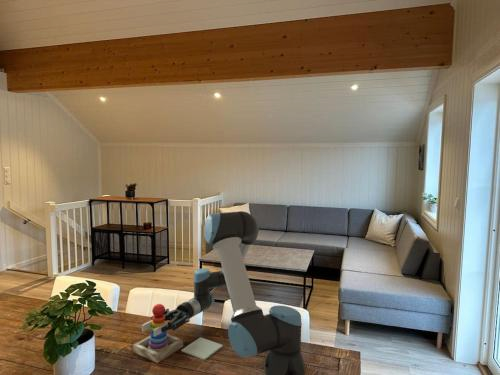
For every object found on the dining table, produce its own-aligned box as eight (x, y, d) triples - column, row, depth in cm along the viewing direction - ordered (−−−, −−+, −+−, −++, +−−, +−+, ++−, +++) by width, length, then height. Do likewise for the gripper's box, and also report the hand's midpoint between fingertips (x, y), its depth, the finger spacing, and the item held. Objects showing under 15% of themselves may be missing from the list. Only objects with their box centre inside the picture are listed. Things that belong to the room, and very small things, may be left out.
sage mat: (222, 346, 143) (222, 345, 143) (204, 360, 133) (204, 358, 133) (200, 338, 150) (200, 337, 150) (181, 351, 140) (181, 349, 139)
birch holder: (182, 346, 143) (182, 339, 143) (157, 362, 131) (157, 355, 131) (159, 337, 150) (158, 330, 150) (132, 352, 139) (132, 344, 138)
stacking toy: (163, 355, 136) (162, 309, 135) (144, 353, 138) (143, 307, 136) (171, 345, 144) (171, 301, 143) (153, 343, 146) (153, 300, 144)
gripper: (204, 323, 151) (165, 346, 131) (172, 312, 161) (132, 333, 141) (204, 306, 150) (165, 327, 131) (172, 297, 160) (132, 315, 140)
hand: (148, 330), depth 136 cm, fingers closed on stacking toy, 6 cm apart
